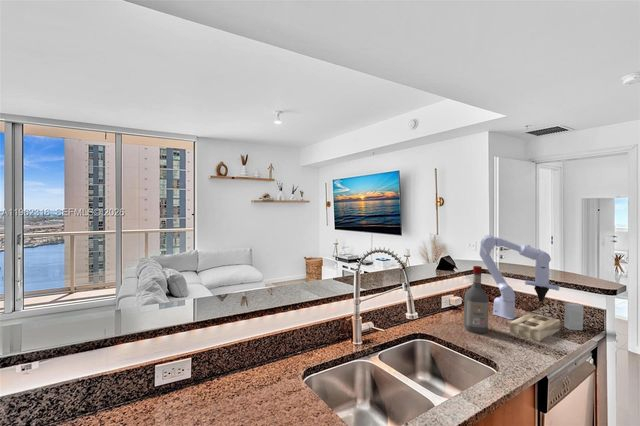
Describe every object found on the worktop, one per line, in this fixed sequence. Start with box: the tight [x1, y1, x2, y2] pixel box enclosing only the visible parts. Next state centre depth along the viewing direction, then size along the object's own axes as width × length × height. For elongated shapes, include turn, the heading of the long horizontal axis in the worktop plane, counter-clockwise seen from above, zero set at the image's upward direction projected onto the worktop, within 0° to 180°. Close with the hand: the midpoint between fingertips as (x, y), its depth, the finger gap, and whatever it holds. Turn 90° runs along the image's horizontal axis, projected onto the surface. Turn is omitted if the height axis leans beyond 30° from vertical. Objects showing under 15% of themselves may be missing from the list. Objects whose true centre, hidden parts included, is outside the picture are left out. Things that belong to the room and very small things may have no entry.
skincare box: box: [563, 302, 584, 331], centre depth 152 cm, size 6×4×12 cm
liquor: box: [463, 265, 490, 334], centre depth 149 cm, size 9×9×30 cm
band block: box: [509, 312, 561, 343], centre depth 148 cm, size 12×24×5 cm, turn 126°
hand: (541, 301), depth 161 cm, fingers closed
